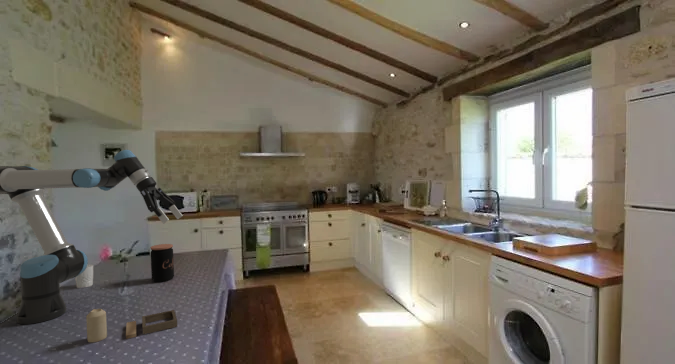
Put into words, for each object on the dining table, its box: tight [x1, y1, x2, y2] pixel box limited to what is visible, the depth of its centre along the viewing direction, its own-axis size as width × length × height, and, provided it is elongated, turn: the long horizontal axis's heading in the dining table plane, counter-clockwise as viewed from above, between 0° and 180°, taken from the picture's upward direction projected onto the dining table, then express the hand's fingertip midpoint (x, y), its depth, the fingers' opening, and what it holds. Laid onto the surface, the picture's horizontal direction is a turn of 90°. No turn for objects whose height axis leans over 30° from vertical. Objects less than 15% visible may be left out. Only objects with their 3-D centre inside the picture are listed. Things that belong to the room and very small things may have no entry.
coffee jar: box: [150, 243, 175, 283], centre depth 182 cm, size 11×11×18 cm
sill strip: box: [125, 320, 137, 340], centre depth 123 cm, size 3×12×1 cm, turn 31°
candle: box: [85, 308, 108, 343], centre depth 118 cm, size 6×6×10 cm
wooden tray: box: [141, 309, 178, 335], centre depth 127 cm, size 11×11×2 cm
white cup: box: [74, 264, 94, 289], centre depth 175 cm, size 8×8×10 cm
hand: (173, 219), depth 152 cm, fingers open, 13 cm apart
